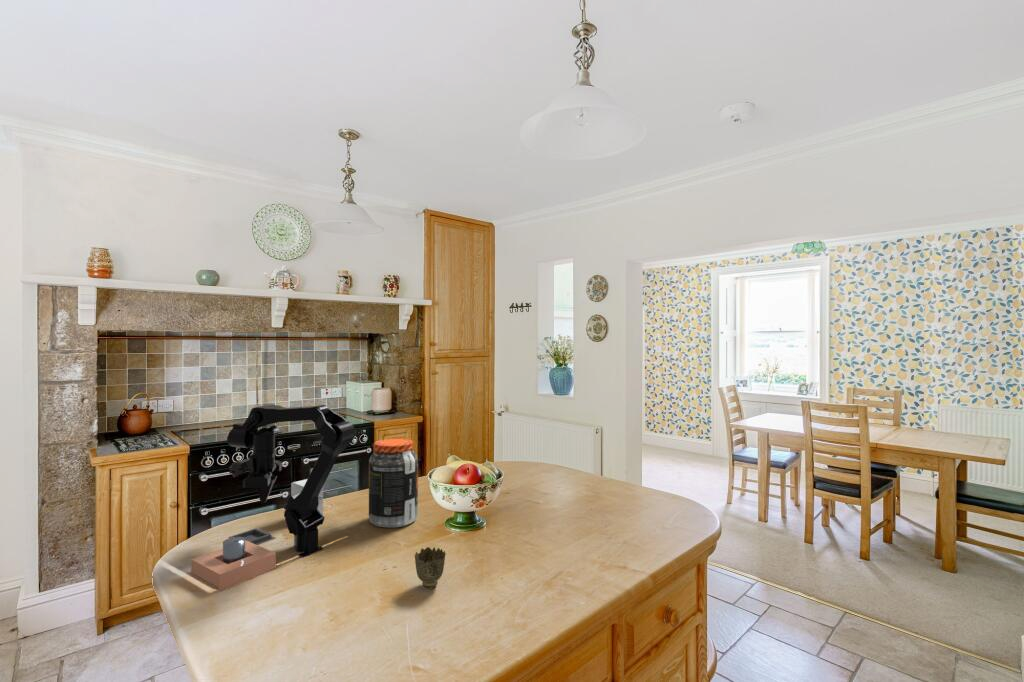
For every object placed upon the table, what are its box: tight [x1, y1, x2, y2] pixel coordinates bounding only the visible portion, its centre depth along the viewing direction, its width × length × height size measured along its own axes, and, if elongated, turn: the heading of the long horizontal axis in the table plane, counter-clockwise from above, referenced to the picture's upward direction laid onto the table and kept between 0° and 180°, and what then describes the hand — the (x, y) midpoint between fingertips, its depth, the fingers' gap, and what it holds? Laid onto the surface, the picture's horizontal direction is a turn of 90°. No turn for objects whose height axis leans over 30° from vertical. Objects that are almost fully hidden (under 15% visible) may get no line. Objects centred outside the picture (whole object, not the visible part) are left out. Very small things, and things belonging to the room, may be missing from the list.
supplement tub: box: [368, 437, 419, 528], centre depth 164 cm, size 16×16×26 cm
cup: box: [414, 546, 447, 589], centre depth 122 cm, size 8×7×8 cm
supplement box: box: [290, 478, 324, 523], centre depth 164 cm, size 7×7×13 cm
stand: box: [228, 527, 277, 546], centre depth 146 cm, size 10×10×2 cm
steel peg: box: [222, 537, 245, 564], centre depth 128 cm, size 5×5×8 cm
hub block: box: [190, 540, 277, 592], centre depth 128 cm, size 14×14×4 cm
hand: (263, 503), depth 145 cm, fingers closed
